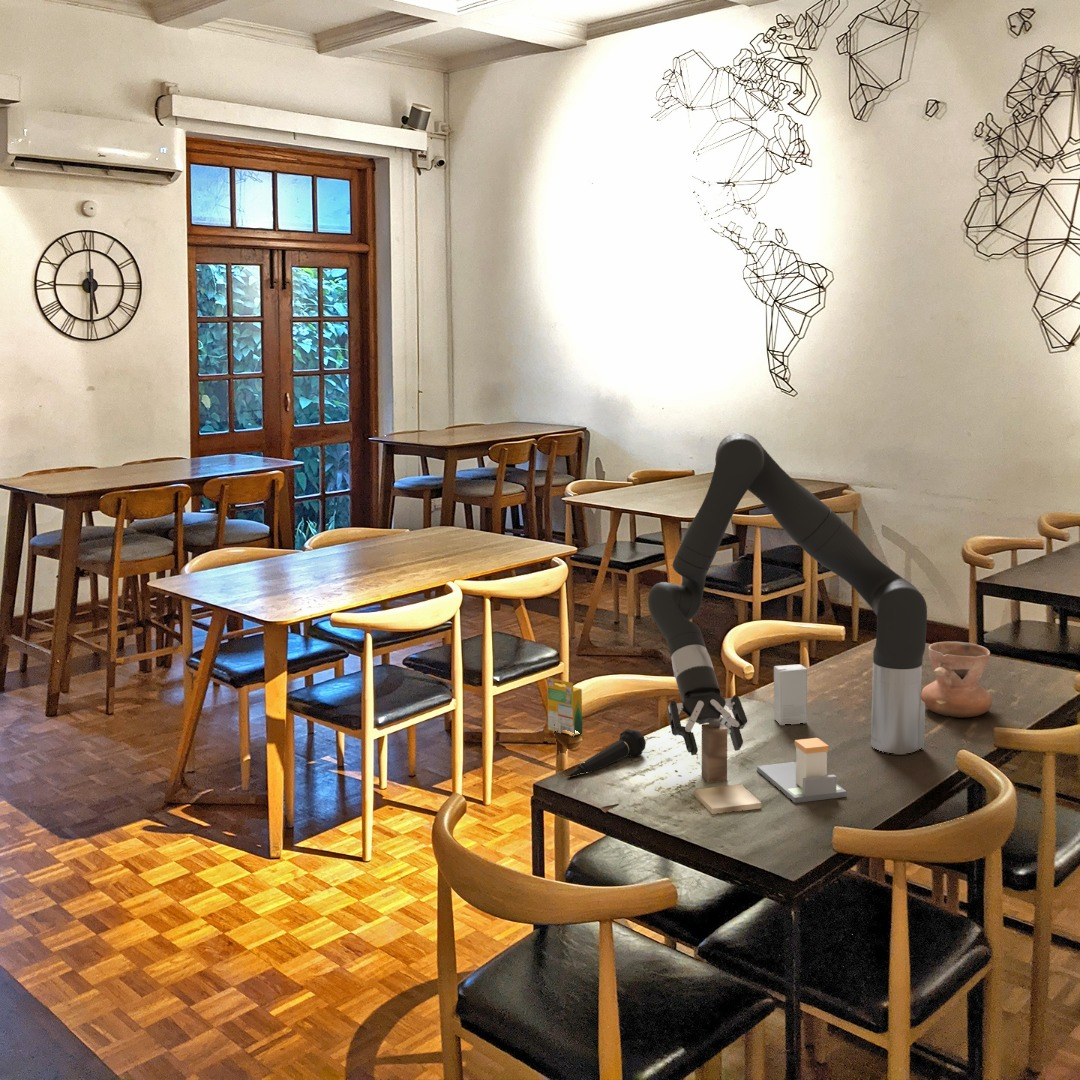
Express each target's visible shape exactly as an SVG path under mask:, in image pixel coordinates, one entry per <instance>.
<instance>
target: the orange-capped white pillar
mask: <svg viewBox="0 0 1080 1080" xmlns="http://www.w3.org/2000/svg"><path fill="white" fill-rule="evenodd" d="M794 747H795V748H796V750H795V762H796V783H797V784H798V785H799V786H800V787H802V788H803V778H808V777H817V776H825V775H827V772H828V771H827V770H828V767H827V765H828V760H827V759H828V752H830V751H829V750H830V748H829V747H830V746H829V745H828V744H827V743H825V742H824V741H823V740H821V739H820V738H818V737H811V738H801V739H795V740H794Z"/></svg>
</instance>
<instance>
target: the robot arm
mask: <svg viewBox="0 0 1080 1080" xmlns="http://www.w3.org/2000/svg"><path fill="white" fill-rule="evenodd" d="M714 460H715V461H714V463H715V464H714V465H715V466H714V470H713V472H712V477H711V481H710V484H709V487H708V490H707V493H706V494H705V497H704V499H703V500H702V501H703V502H702V503H701V505H700V508H698V509H699V510H697V513H696V514H695V516H694V518H693V520H692V522H691V523H690V525H689V527H688V528H687V531H686V532H685V535H684V536H683V539H682V541H681V544H680V545H679V548H678V549H677V551H676V554H675V556H674V559H673V562H672V568H673V570H674V571H675V573H676V574H678V575H680V576H681V577H682V582H681V584H675V583H672V582H667V581H660V582H657V583H655V584H654V585H653V586H652V587H651V588H650V590H649V593H648V597H647V605H648V609H649V612H650V615H651V617H652V619H653V621H654V622H655V624H656V626H657V628H658V629H659V631H660V632H661V634H662V636H663V637H664V639H665V640H666V644H667V647H668V651H669V654H670V658H671V664H672V665H671V666H672V670H673V677H674V679H675V682H676V685H677V689H678V692H679V696H680V700H681V701H682V702H679V703H678V702H676V701H675V700H671V701H669V702H670V703H669V704H668V707H667V709H666V710H667V714H668V719H669V724H670V729H671V734H672V736H675V737H676V736H680V737H681V736H682V738H683V741H684V744H685V748H686V751H687V752H688V753H690V754H691V756H696V755H697V754H698V752H699V749H698V748H699V747H698V746H697V742H696V738H695V734H694V732H692V729H693V727H694V726H695V723H697V724H698V725H703V724H709V720H710V719H719V720H720V723H721V724H722V725H723V726H724V727H726V728H727V731H729V736H730V739H731V742H732V743H731V744H732V746H733V749H734V751H736V752H737V751H740V750H741V748H742V746H743V745H744V740H743V737H742V733H741V730H743V729H744V727H745V726H746V724H747V723H748V718H747V715H746V712H745V709H744V708H743V704H742V701H741V699H740V696H738V695H737V694H734V695H733V696H732V697H727V698H724V697H723V695H722V693H721V689H720V685H719V682H718V678H717V675H716V672H715V668H714V666H713V662H712V659H711V656H710V654H709V652H708V649H707V647H706V643H705V639H704V637H703V634H702V630H701V629H700V626H699V625H698V624H696V623H695V622H693V621H691V620H692V619H693V618H695V617H696V615H697V614H698V613H699V611H700V609H701V606H702V601H703V596H704V591H705V590H704V589H705V585H706V579H707V574H708V571H709V569H710V567H711V565H712V563H713V561H714V559H715V557H716V555H717V552H718V550H719V548H720V545H721V544H722V541H723V538H724V536H725V533H726V531H727V528H728V526H729V523H730V522H731V519H732V517H733V515H734V513H735V512H736V509H737V507H738V505H739V504H740V503H741V500H742V499H743V497H744V496H745V494H746V493H747V491H748V492H750V493H752V494H753V495H754V496H755V497H756V498H757V499H758V500H759V501H761V502H762V504H763V505H764V506H765V507H766V508H767V510H768V511H769V512H770V513H771V515H772V516H773V518H774V519H775V520H776V521H777V523H778V524H779V525H780V526H781V528H782V529H783V530H784V531H785V533H787V535H788V536H789V537H790V538H791V539H792V540H793V541H794V542H795V543H796V544H797V545H798V546H799V547H800V548H801V549H802V550H803V551H805V552H806V553H807V554H808V555H809V556H810V557H811V558H812V559H814V560H815V561H816V562H817V563H819V564H820V565H821V566H823V567H825V568H826V569H828V570H829V571H830V572H832V573H834V575H835V574H836V576H838V577H840V578H841V579H843V580H844V581H846V582H847V583H848V584H849V585H850V586H851V587H852V588H854V590H855V591H856V592H857V593H858V594H859V595H860V597H862V598H863V600H864V601H865V602H866V603H867V604H868V606H869V607H870V608H871V610H872V611H873V612H874V614H875V616H876V635H875V636H876V637H875V644H874V648H873V651H872V653H873V655H872V684H871V685H872V690H871V728H870V729H871V730H870V731H871V732H870V746H871V745H872V746H871V748H872V747H873V748H872V749H874V748H875V749H877V750H879V751H878V752H880V751H882V752H881V753H884V752H891V753H909V752H914V751H916V750H918V749H921V748H924V749H925V729H926V728H925V726H926V725H925V724H926V723H925V722H926V706H925V702H923V701H922V700H921V692H922V688H923V686H922V683H923V682H922V681H923V657H924V654H925V651H926V641H927V639H926V638H927V627H928V625H927V623H928V606H927V605H928V604H927V601H926V599H925V597H924V596H923V594H922V593H921V592H920V591H919V590H918V588H917V587H916V586H915V585H914V584H912V583H911V582H910V581H908V580H907V579H905V578H903V577H902V576H901V575H899V574H898V573H897V572H895V571H894V570H893V569H891V568H890V567H889V566H887V565H886V564H885V563H884V562H883V561H881V560H880V559H878V557H876V555H874V554H873V552H871V550H870V549H869V548H868V547H867V545H865V543H864V541H863V540H862V539H861V538H860V537H859V536H858V535H857V534H856V532H855V531H854V530H853V529H852V528H851V527H850V526H849V524H847V523H846V522H845V521H844V520H843V519H842V518H841V517H840V516H839V515H838V514H837V513H836V512H834V510H833V509H831V508H830V507H829V506H828V505H827V504H825V502H823V501H822V500H821V499H819V498H818V497H817V496H816V495H814V494H813V493H812V492H811V491H809V490H808V489H807V488H806V487H804V486H803V485H802V484H800V483H799V482H798V481H796V480H795V479H794V478H793V477H791V476H790V475H789V474H788V473H787V472H786V471H785V470H784V469H783V468H782V467H781V466H780V465H779V464H778V463H777V461H775V459H774V458H772V456H771V455H770V453H768V451H767V450H766V449H765V447H763V446H762V444H761V443H760V441H758V439H756V437H754V436H752V435H751V434H748V433H744V432H735V433H731V434H728V435H726V436H725V437H724V438H723V439H722V440H721V441H720V442H719V444H718V446H717V448H716V452H715V459H714ZM725 706H726V707H728V710H730V711H731V712H732V714H731V713H730V712H729V711H728V710H727V709H726V708H725ZM681 711H682V712H683V713H684V714H686V715H687V716H688V720H687V723H686V724H685V726H684V725H682V724H681V718H680V714H681ZM732 715H733V716H734V717H733V716H732ZM875 749H874V750H875ZM877 750H876V751H877ZM921 750H922V749H921ZM883 751H884V752H883ZM918 751H919V750H918Z"/></svg>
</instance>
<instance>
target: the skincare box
mask: <svg viewBox="0 0 1080 1080" xmlns="http://www.w3.org/2000/svg"><path fill="white" fill-rule="evenodd" d="M773 719H774V721H775V720H776V721H777V722H778V723H779V724H778V723H777V722H776V721H775V722H776V723H777V724H778V725H780V726H786V725H785V724H791V725H801V724H800V723H803V724H807V723H808V669H807V668H806V667H805V666H804V665H802V664H800V663H799V664H786V665H785V664H784V665H775V666H774V665H773Z"/></svg>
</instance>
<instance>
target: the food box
mask: <svg viewBox="0 0 1080 1080" xmlns="http://www.w3.org/2000/svg"><path fill="white" fill-rule="evenodd" d="M546 684H547V685H546V687H547V691H546V692H547V694H546V695H547V697H546V698H547V730H548V731H550V732H554V733H558V734H561V731H562V730H567V731H570V732H572V733H574V734H575V730H576V731H578V732H579V733H580V735H582V734H583V702H582V701H583V690H582V688H579V687H575V686H574V683H573V682H570V681H566V680H561V679H556V678H552V677H548V676H547V677H546ZM554 724H555V726H554ZM554 727H555V729H554ZM557 730H558V732H557ZM555 731H556V732H555ZM574 734H573V737H572V738H575V737H574Z"/></svg>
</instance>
